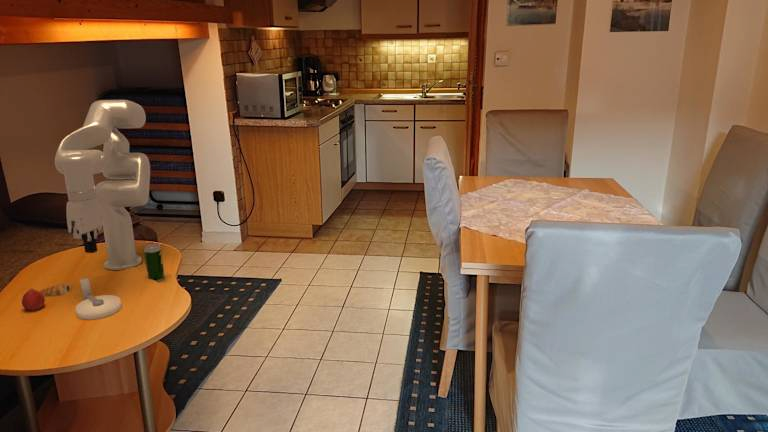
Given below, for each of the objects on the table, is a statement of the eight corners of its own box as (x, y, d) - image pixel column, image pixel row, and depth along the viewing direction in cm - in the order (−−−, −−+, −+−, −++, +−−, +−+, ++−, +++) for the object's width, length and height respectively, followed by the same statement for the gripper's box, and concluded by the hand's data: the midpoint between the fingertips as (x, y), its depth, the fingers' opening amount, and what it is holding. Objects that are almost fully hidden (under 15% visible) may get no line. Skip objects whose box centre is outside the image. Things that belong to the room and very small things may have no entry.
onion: (23, 317, 162) (18, 293, 159) (25, 309, 166) (20, 285, 164) (46, 313, 164) (41, 289, 162) (47, 305, 169) (42, 282, 166)
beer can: (150, 283, 184) (145, 250, 181) (146, 278, 189) (142, 246, 185) (166, 280, 187) (162, 247, 184) (163, 274, 192) (158, 243, 188)
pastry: (35, 303, 171) (32, 292, 170) (40, 294, 177) (37, 283, 176) (68, 298, 174) (66, 287, 173) (72, 290, 180) (70, 279, 179)
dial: (127, 309, 164) (124, 288, 162) (85, 323, 156) (81, 301, 153) (106, 292, 175) (103, 272, 173) (65, 305, 166) (61, 284, 164)
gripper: (89, 188, 172) (98, 243, 178) (52, 200, 159) (62, 259, 164) (110, 190, 171) (118, 245, 176) (73, 202, 157) (83, 261, 162)
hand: (91, 251), depth 170 cm, fingers closed
